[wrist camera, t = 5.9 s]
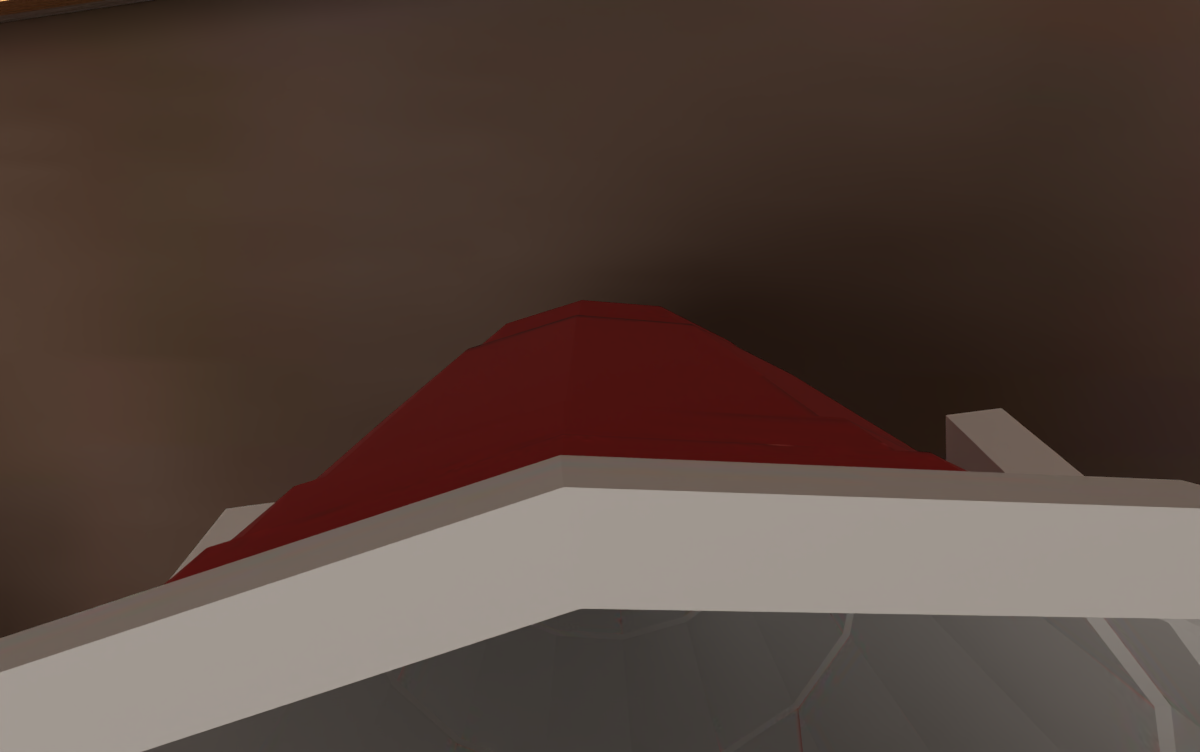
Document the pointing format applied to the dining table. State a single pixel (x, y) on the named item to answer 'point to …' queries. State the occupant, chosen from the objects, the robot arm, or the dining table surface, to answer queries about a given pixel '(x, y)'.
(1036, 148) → the dining table surface
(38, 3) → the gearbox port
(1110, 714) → the plastic cup
